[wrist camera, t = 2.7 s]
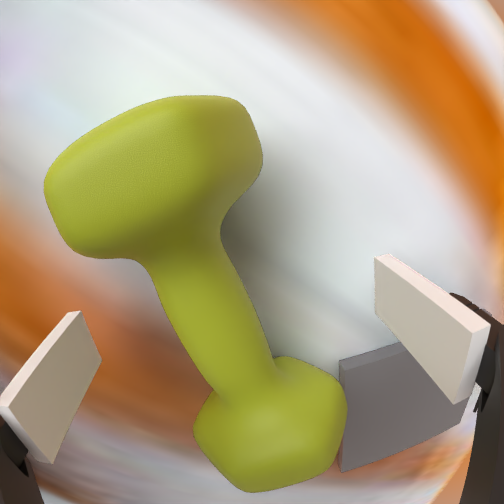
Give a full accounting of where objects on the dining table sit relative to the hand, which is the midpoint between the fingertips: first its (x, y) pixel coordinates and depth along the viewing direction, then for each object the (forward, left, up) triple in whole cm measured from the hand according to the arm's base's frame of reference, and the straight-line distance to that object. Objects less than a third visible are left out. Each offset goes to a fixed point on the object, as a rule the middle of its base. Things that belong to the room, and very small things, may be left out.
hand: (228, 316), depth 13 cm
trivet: (+12, -12, -3) cm, 17 cm away
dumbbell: (0, 0, -3) cm, 3 cm away
